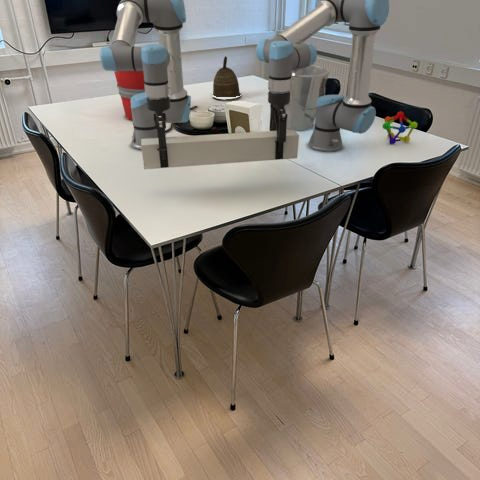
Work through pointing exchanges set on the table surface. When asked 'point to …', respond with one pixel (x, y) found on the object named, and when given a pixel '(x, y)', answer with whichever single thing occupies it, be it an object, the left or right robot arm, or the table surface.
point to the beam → (219, 149)
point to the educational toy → (398, 128)
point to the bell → (225, 82)
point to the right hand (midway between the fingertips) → (276, 155)
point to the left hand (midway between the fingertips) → (164, 163)
